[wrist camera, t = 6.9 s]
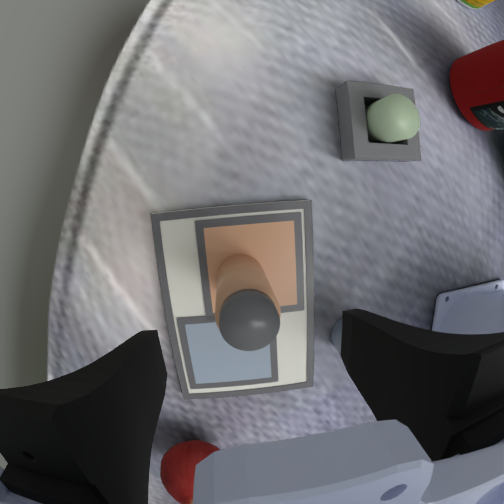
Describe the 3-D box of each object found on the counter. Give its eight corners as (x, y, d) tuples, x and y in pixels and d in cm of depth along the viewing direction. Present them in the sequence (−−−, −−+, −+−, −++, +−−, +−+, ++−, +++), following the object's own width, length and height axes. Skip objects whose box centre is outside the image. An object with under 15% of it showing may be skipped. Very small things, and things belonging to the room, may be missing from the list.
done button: (391, 106, 18) (416, 96, 15) (396, 145, 19) (422, 140, 16) (356, 102, 18) (377, 91, 15) (360, 143, 19) (383, 137, 15)
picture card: (308, 199, 20) (311, 200, 19) (310, 381, 23) (313, 386, 22) (153, 213, 19) (150, 214, 18) (184, 394, 22) (183, 399, 22)
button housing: (397, 95, 19) (413, 89, 17) (404, 161, 20) (420, 160, 18) (335, 89, 18) (346, 80, 16) (342, 160, 19) (355, 158, 17)
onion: (224, 464, 25) (226, 530, 17) (164, 455, 24) (154, 521, 16) (235, 426, 23) (241, 500, 16) (167, 415, 23) (154, 488, 15)
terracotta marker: (262, 251, 20) (283, 288, 13) (265, 296, 20) (285, 350, 13) (214, 256, 19) (210, 295, 13) (219, 301, 20) (218, 357, 13)
